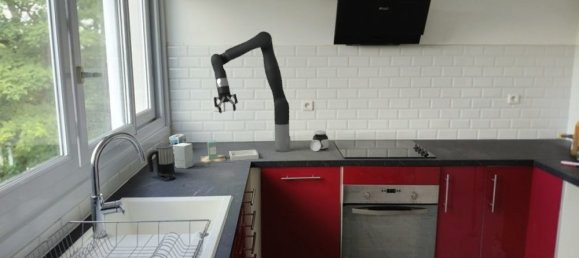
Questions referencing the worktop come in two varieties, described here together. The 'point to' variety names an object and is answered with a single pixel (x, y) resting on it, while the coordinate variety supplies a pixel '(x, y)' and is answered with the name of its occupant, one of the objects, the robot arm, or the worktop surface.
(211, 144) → the carton
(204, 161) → the board
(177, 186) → the worktop surface
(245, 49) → the robot arm
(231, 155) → the tray
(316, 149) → the spread jar
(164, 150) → the milk frother
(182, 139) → the light bulb box
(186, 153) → the supplement box
